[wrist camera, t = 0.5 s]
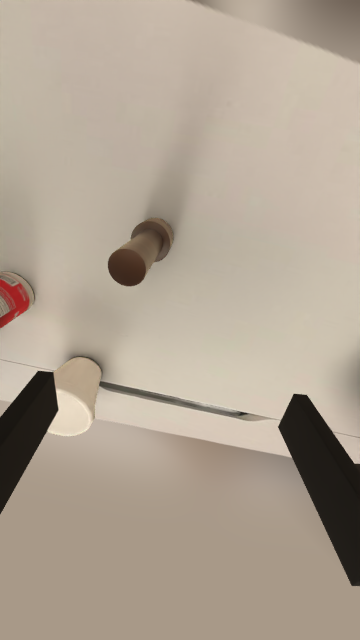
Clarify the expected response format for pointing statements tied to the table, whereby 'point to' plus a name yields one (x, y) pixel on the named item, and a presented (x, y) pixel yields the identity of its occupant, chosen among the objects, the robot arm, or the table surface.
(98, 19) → the table surface
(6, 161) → the table surface
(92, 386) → the cup
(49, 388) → the robot arm
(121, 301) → the table surface
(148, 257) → the pestle
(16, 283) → the pill bottle
